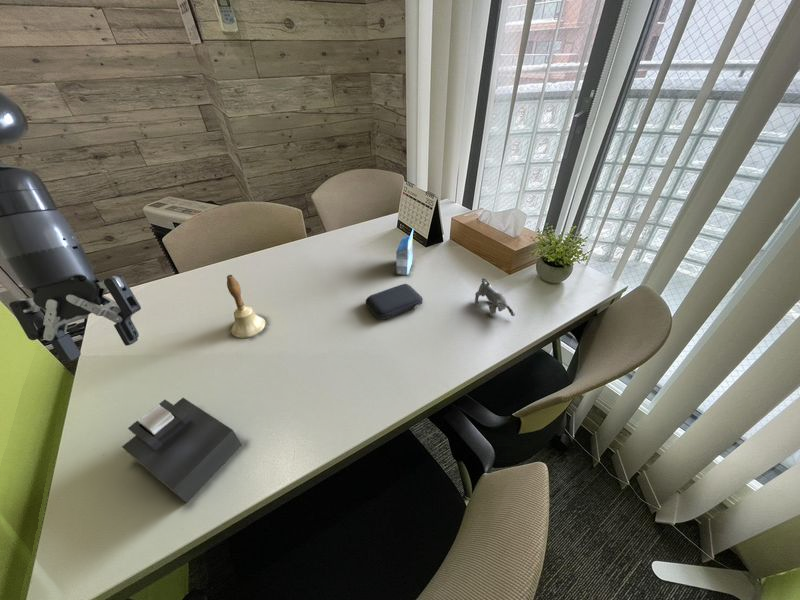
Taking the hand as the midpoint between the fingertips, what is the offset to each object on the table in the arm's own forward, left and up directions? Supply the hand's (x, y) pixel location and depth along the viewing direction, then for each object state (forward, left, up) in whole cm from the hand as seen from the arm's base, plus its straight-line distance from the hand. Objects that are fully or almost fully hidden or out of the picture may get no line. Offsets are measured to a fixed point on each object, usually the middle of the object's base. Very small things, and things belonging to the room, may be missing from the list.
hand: (103, 350), depth 50 cm
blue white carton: (+63, +38, -21) cm, 76 cm away
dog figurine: (+79, +10, -21) cm, 82 cm away
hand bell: (+15, +24, -21) cm, 35 cm away
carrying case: (+54, +20, -21) cm, 61 cm away
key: (+3, -4, -14) cm, 15 cm away
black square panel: (+6, -8, -21) cm, 23 cm away
